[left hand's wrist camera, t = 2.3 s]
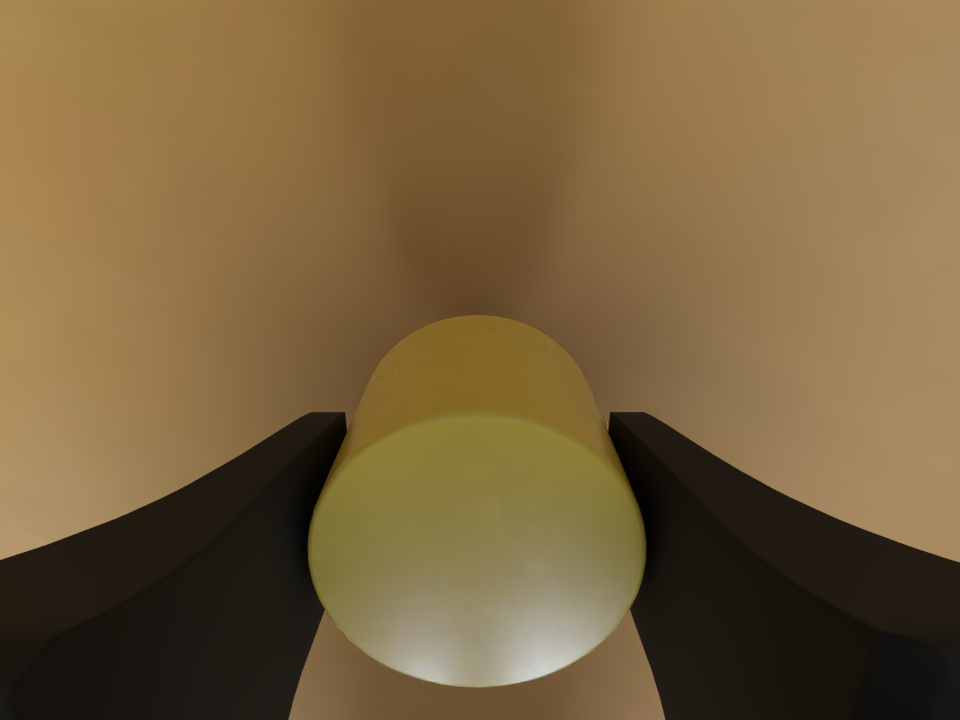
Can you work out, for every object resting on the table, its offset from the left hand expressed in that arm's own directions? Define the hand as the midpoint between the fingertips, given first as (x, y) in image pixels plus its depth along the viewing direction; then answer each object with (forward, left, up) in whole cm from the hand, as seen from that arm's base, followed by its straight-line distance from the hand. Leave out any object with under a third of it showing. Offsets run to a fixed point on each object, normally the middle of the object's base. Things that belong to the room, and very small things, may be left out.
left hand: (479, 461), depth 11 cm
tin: (0, 0, -1) cm, 1 cm away
